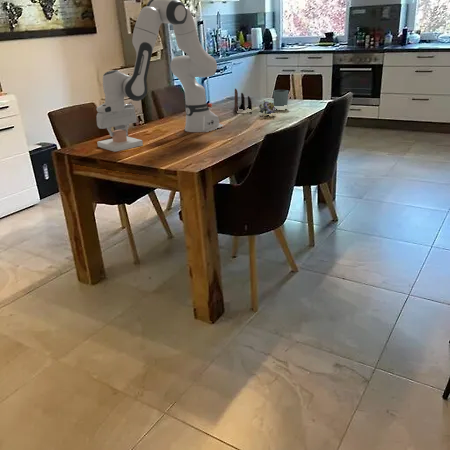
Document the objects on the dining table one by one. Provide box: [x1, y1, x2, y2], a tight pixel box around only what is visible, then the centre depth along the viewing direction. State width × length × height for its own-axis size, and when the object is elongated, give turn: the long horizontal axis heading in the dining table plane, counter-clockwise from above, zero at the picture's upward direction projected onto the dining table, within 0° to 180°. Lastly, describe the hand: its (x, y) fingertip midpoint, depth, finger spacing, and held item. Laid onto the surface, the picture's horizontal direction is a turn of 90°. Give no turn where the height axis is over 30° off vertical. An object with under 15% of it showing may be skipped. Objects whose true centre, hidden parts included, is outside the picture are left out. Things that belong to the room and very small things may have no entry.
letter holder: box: [234, 88, 253, 111], centre depth 310 cm, size 10×20×14 cm, turn 3°
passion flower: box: [258, 99, 276, 115], centre depth 289 cm, size 11×11×12 cm
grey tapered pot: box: [272, 89, 290, 106], centre depth 309 cm, size 10×10×12 cm
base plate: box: [96, 135, 144, 152], centre depth 233 cm, size 16×16×2 cm
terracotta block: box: [111, 129, 127, 143], centre depth 232 cm, size 5×5×5 cm
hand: (119, 134), depth 232 cm, fingers open, 6 cm apart
